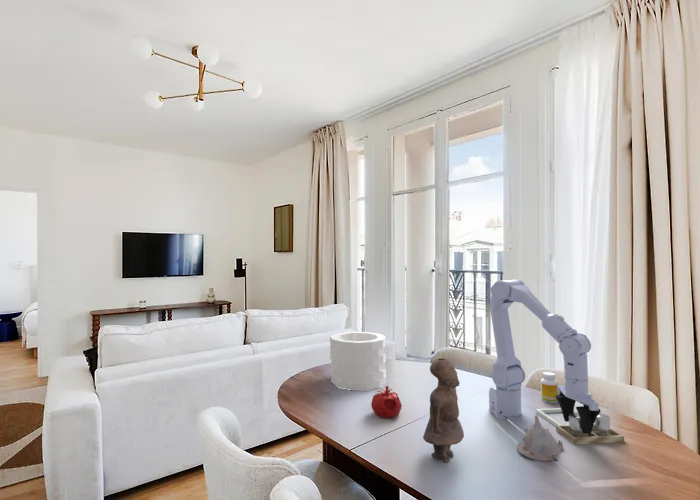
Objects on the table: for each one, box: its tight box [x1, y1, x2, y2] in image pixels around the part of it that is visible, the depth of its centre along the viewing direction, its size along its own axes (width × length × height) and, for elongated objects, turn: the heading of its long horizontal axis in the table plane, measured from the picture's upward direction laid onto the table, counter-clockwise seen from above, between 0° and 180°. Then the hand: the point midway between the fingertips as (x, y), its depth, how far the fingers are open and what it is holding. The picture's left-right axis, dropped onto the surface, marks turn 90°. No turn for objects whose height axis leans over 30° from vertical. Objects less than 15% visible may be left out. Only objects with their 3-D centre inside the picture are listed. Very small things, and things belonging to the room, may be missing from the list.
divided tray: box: [555, 424, 625, 445], centre depth 106 cm, size 14×8×2 cm, turn 94°
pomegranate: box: [370, 385, 403, 419], centre depth 125 cm, size 10×10×9 cm
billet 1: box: [568, 414, 588, 437], centre depth 106 cm, size 5×5×6 cm
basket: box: [329, 331, 387, 391], centre depth 161 cm, size 25×24×19 cm
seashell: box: [517, 414, 564, 463], centre depth 100 cm, size 10×12×9 cm
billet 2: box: [592, 412, 611, 436], centre depth 107 cm, size 5×5×6 cm
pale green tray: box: [535, 407, 562, 427], centre depth 117 cm, size 9×13×2 cm
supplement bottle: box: [540, 371, 559, 404], centre depth 136 cm, size 5×5×10 cm
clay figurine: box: [422, 358, 465, 464], centre depth 98 cm, size 13×10×25 cm
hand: (577, 426), depth 106 cm, fingers open, 7 cm apart
